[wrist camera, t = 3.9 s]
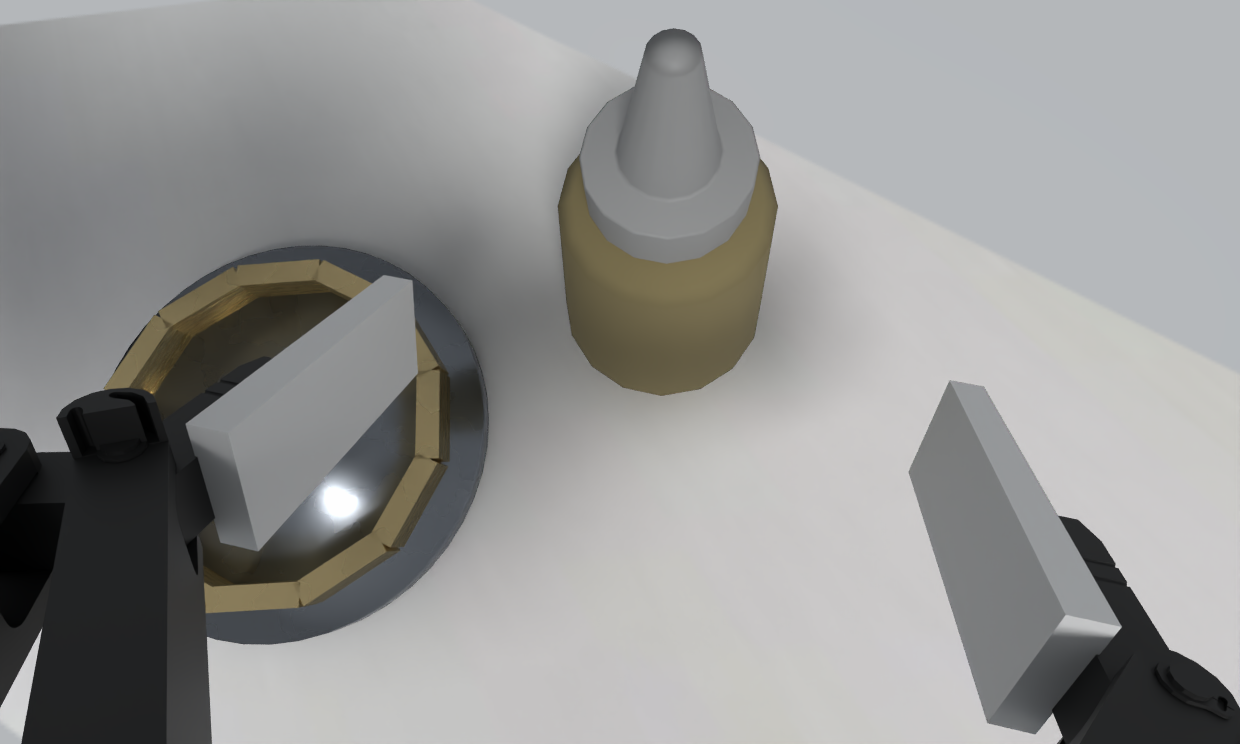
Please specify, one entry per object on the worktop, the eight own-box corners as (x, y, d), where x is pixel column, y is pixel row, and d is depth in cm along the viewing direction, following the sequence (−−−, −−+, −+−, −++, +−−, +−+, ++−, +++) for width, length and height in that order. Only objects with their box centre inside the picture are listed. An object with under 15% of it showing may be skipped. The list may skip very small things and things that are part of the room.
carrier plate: (29, 522, 30) (-26, 521, 27) (249, 200, 33) (217, 174, 31) (355, 720, 27) (326, 739, 24) (557, 346, 30) (549, 330, 28)
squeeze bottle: (707, 224, 32) (775, -155, 14) (776, 374, 30) (953, 148, 12) (552, 283, 31) (426, -32, 14) (611, 438, 29) (551, 299, 12)
